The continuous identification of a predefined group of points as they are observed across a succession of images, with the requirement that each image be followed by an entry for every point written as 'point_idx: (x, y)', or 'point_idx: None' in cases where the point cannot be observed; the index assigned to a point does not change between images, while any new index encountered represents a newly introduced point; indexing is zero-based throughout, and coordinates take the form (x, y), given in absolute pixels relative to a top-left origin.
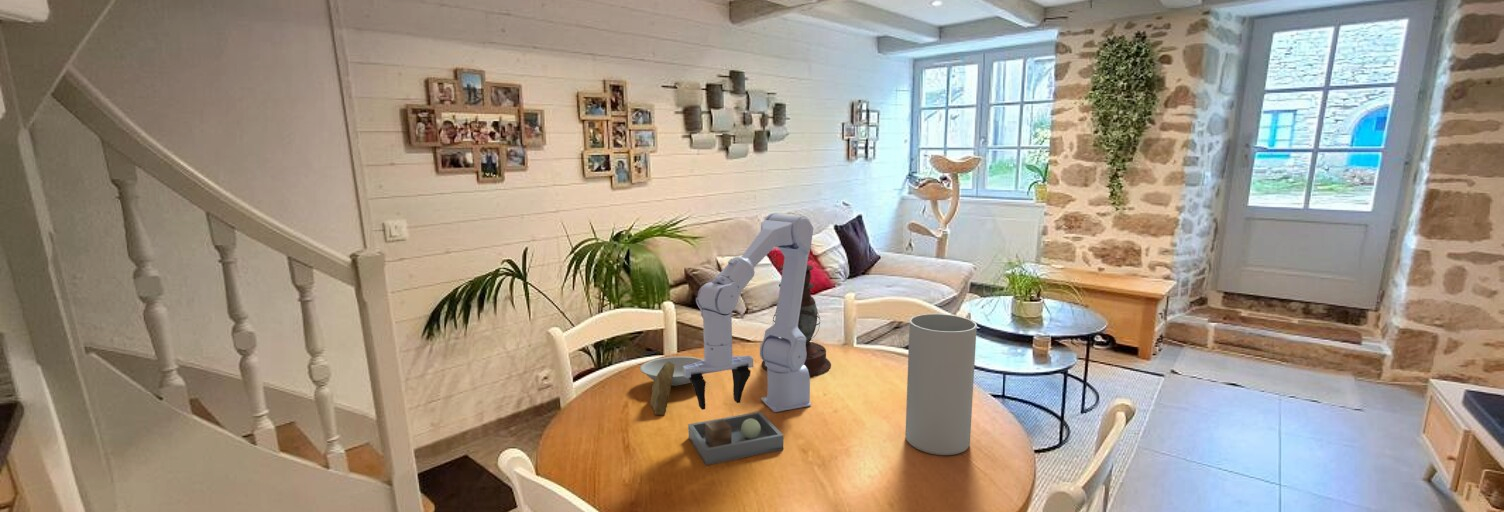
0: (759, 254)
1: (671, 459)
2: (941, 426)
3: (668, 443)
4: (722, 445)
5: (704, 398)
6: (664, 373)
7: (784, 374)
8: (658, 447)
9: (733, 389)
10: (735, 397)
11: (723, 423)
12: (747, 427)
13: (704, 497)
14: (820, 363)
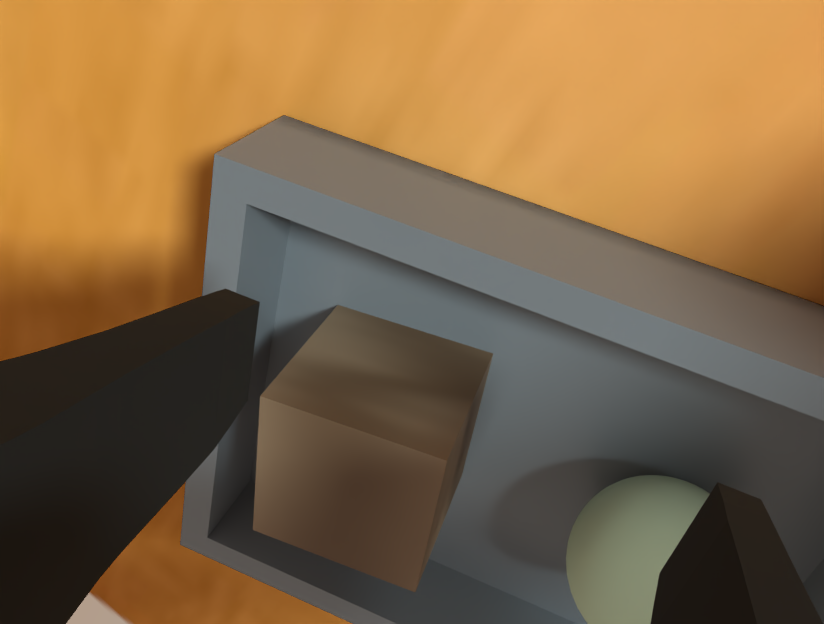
0: None
1: (84, 290)
2: None
3: (117, 83)
4: (296, 580)
5: (140, 522)
6: None
7: None
8: (39, 89)
9: (743, 586)
10: (688, 571)
11: (395, 514)
12: (581, 613)
13: (132, 616)
14: None
